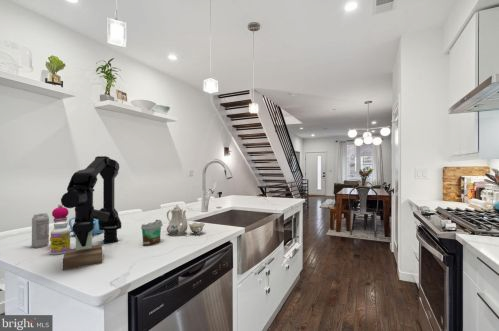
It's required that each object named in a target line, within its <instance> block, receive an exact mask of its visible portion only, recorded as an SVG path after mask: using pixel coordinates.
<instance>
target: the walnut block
mask: <svg viewBox="0 0 499 331" xmlns="http://www.w3.org/2000/svg"><path fill="white" fill-rule="evenodd" d="M100 264H103V245H102V244H97V245H92V248H88V249H81V250H76V247H75V248H70V249H67V250H66V252H65V253H64V254H63V257H62V271H66V270H73V269H78V268H82V267H90V266H95V265H100Z"/></svg>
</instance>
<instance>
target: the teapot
mask: <svg viewBox="0 0 499 331" xmlns="http://www.w3.org/2000/svg"><path fill="white" fill-rule="evenodd" d="M72 220H75V216H73V217H70V218H69V220H68V226H69V228H70V234H71V233H72V234H74V235H75V236H76V234H75V233H74V232H72V228H73V224H74V223H76V222H75V221H74V222H73V224H72ZM90 232H92V236H93V235H95V236H96V235H99V234H100V233H102V232H104V230H99V224H98V219H94V222H93V230H91V231H90Z"/></svg>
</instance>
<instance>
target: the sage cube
mask: <svg viewBox="0 0 499 331" xmlns="http://www.w3.org/2000/svg"><path fill="white" fill-rule="evenodd" d="M92 246H93V235H92V232H89V233H88V237H87V242H86V246H84V247H82V246H81V244H80V242H79V240H78V238H77V236H76V235H75V248H76V250H81V249H88V248H92Z"/></svg>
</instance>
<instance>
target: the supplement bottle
mask: <svg viewBox="0 0 499 331" xmlns="http://www.w3.org/2000/svg"><path fill="white" fill-rule="evenodd" d="M68 226H69V221H66V222H57V223H55V222H54V223H53V229H52V230H51V231H50V237H51V241H50V254H51V255H53V256H58V255H64V254H65V252H66V250H67V249H71V233H70V231H71V229H70V227H68Z"/></svg>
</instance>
